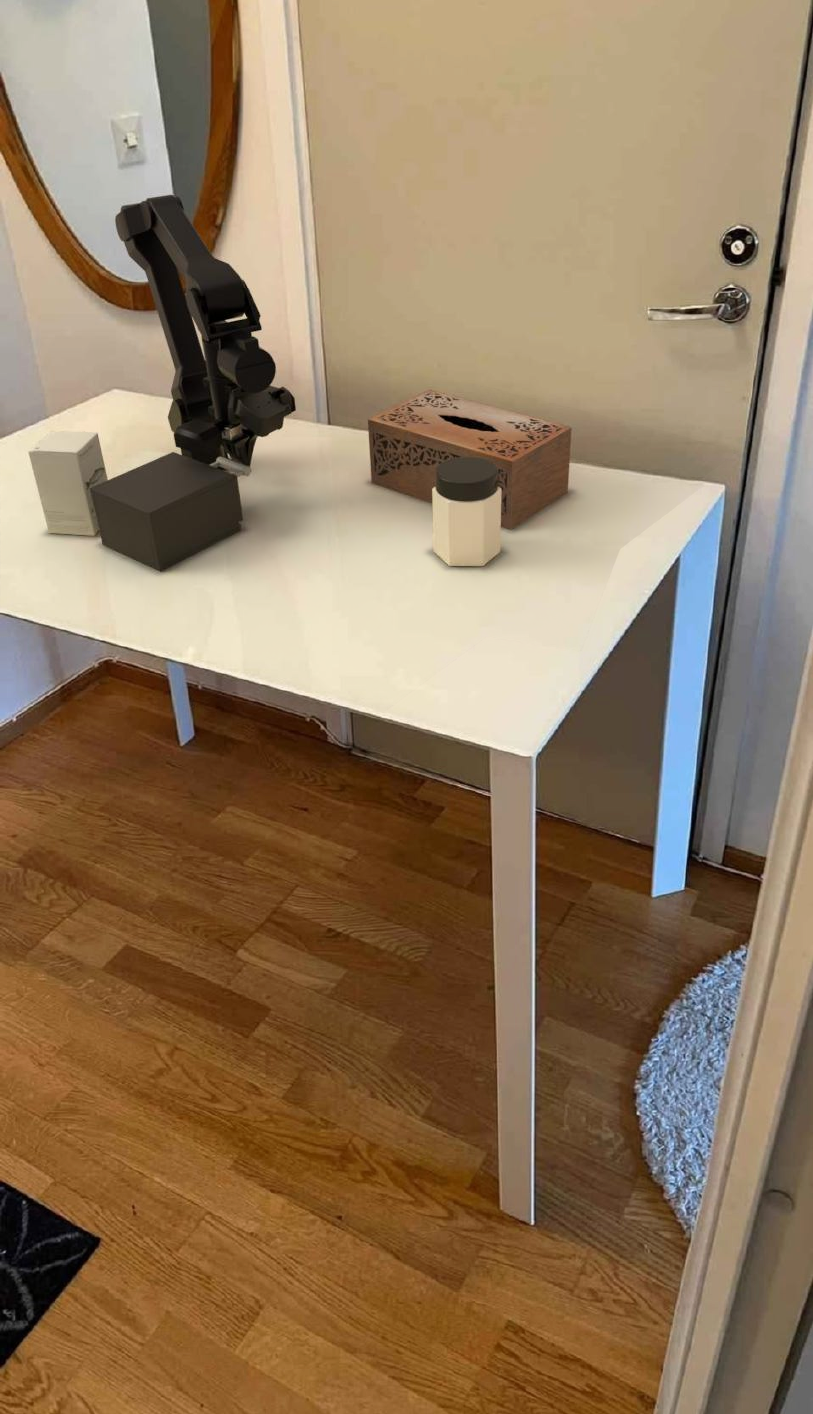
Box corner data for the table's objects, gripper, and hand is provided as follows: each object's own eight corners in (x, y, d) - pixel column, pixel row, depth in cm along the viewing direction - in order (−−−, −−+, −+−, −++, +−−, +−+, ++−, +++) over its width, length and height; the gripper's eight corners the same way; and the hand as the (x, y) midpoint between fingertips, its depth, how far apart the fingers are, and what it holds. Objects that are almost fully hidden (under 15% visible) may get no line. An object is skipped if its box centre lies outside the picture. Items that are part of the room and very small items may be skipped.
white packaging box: (95, 537, 151) (76, 453, 143) (47, 533, 152) (25, 450, 145) (117, 513, 157) (99, 431, 149) (70, 510, 158) (50, 429, 151)
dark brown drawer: (215, 487, 161) (208, 444, 157) (268, 507, 155) (262, 463, 151) (117, 533, 150) (107, 489, 146) (169, 557, 144) (161, 511, 140)
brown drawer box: (182, 506, 158) (173, 451, 153) (241, 530, 151) (232, 473, 146) (102, 544, 149) (89, 488, 144) (160, 571, 142) (148, 513, 137)
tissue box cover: (567, 492, 157) (571, 427, 151) (510, 529, 148) (512, 462, 142) (431, 450, 171) (429, 389, 165) (371, 482, 162) (367, 419, 156)
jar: (510, 559, 142) (512, 475, 135) (456, 574, 139) (455, 489, 132) (477, 531, 148) (477, 450, 141) (424, 545, 146) (422, 463, 138)
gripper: (217, 405, 137) (236, 514, 147) (317, 359, 148) (328, 464, 158) (161, 388, 143) (182, 493, 153) (261, 345, 154) (275, 446, 164)
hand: (245, 474), depth 157 cm, fingers closed
